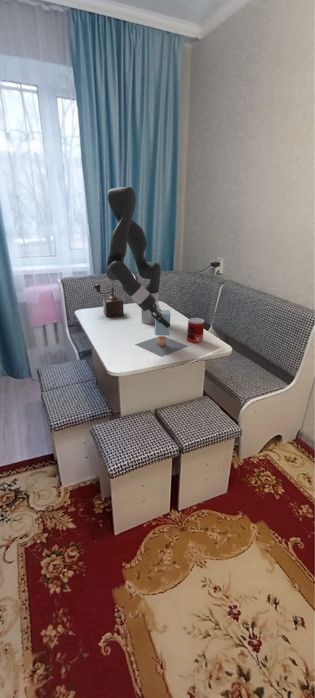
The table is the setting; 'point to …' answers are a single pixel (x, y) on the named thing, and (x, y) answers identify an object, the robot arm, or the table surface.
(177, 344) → the mat
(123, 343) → the table surface
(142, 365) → the table surface
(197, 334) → the canned food
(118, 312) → the pepper mill
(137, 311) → the table surface
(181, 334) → the table surface
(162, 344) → the peach rounded cylinder
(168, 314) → the light blue tall box
